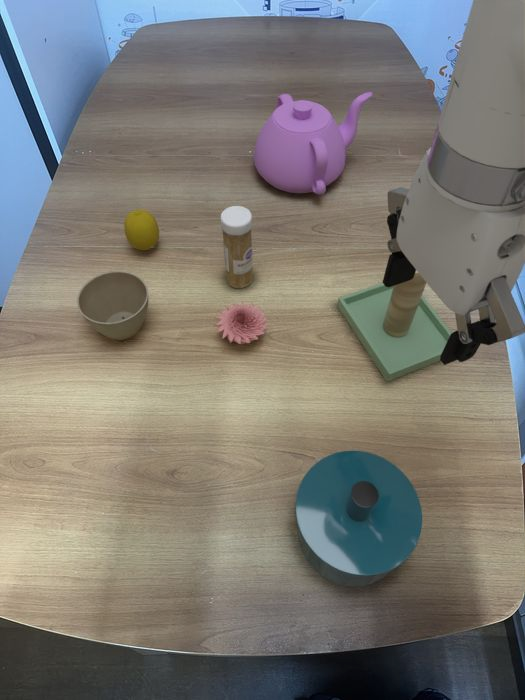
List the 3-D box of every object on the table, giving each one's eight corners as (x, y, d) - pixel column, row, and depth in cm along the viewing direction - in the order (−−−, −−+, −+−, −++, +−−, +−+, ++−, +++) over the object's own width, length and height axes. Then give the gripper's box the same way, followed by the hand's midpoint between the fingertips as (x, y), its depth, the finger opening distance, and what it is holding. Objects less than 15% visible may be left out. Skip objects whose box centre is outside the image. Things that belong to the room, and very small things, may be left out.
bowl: (139, 360, 79) (129, 331, 73) (78, 344, 81) (63, 314, 75) (166, 309, 85) (158, 278, 79) (108, 295, 86) (96, 264, 80)
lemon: (152, 263, 90) (144, 226, 84) (124, 254, 91) (113, 218, 85) (168, 241, 93) (160, 204, 87) (140, 233, 94) (130, 196, 88)
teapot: (386, 191, 101) (401, 123, 89) (277, 219, 96) (279, 151, 85) (337, 127, 112) (345, 59, 101) (238, 149, 108) (235, 81, 97)
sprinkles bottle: (247, 292, 86) (245, 229, 75) (221, 285, 87) (215, 221, 76) (257, 272, 89) (256, 208, 78) (231, 265, 90) (227, 201, 79)
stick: (414, 332, 81) (438, 267, 70) (391, 341, 80) (412, 276, 69) (400, 313, 83) (421, 247, 72) (377, 321, 82) (395, 256, 71)
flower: (272, 354, 80) (273, 331, 75) (218, 361, 79) (215, 339, 74) (264, 313, 84) (264, 289, 79) (213, 319, 83) (210, 295, 79)
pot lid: (445, 545, 57) (460, 529, 53) (330, 600, 54) (336, 588, 49) (379, 437, 64) (388, 415, 60) (275, 481, 61) (276, 461, 57)
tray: (458, 353, 80) (462, 345, 78) (386, 381, 77) (389, 374, 75) (403, 282, 88) (406, 274, 86) (336, 306, 85) (338, 297, 83)
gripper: (628, 224, 32) (518, 376, 46) (458, 82, 41) (409, 245, 55) (526, 260, 31) (444, 407, 45) (373, 104, 40) (345, 266, 54)
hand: (425, 317), depth 50 cm, fingers open, 9 cm apart
